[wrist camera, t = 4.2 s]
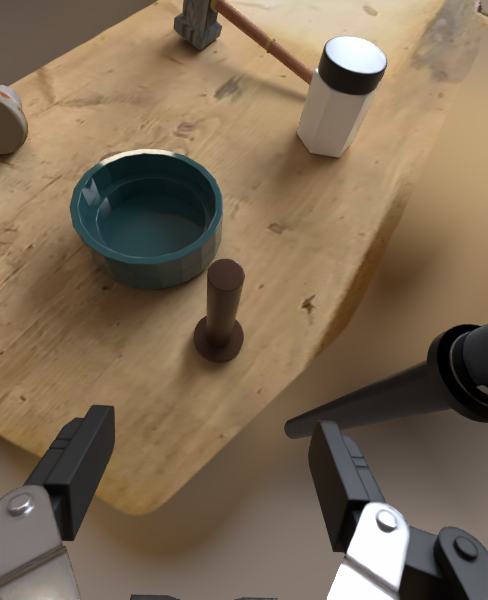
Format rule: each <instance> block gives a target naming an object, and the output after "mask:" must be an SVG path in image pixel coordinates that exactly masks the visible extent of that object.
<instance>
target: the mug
mask: <svg viewBox="0 0 488 600" xmlns="http://www.w3.org/2000/svg"><path fill="white" fill-rule="evenodd" d="M27 134H28V124H27V120H26V117H25V115H24V112H23V111H22V103H21V100H20V98H19V96H18V95H17V94H16V92H15V91H13V90H12V89H11V88H9V87H6V86H3V85H0V154H8V153H11V152H13V151H15V150H17V149H18V148H20V147H21V146H22V145H23V144H24V142H25V140H26V138H27Z"/></svg>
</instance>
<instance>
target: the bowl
mask: <svg viewBox="0 0 488 600" xmlns="http://www.w3.org/2000/svg"><path fill="white" fill-rule="evenodd" d="M70 212H71V217H72V222H73V227H74V228H75V230H76V232H77V234H78V235H79V237H80V239H81V241H82V242H83V244H84V246H85V248H86V249H87V251H88V253H89V255H90V256H91V258H92V259H93V261H94V262H95V263H96V265H97V266H98V268H99V269H100V270H101V271H102V272H103V273H105V274H106V275H108V276H109V277H111V278H112V279H114V280H115V281H116V282H119V283H122V284H125V285H128V286H132V287H135V288H138V289H163V288H167V287H171V286H175V285H178V284H182V283H185V282H186V281H188V280H190V279H191V278H193V277H195V276H196V275H198V274H200V273H201V272H202V271H203V270H204V269H205V268H206V267H207V266H208V264H209V263H210V262H211V261H212V260H213V259H214V257H215V255H216V252H217V250H218V247H219V245H220V242H221V230H222V217H223V197H222V194H221V191H220V189H219V187H218V184H217V182H216V180H215V179H214V178H213V176H212V175H211V174H210V173H209V172H208V171H207V170H206V169H205V168H204V167H203V166H202V165H200V164H198V163H197V162H195V161H193V160H192V159H190V158H188V157H186V156H184V155H180V154H177V153H174V152H170V151H167V150H156V149H139V150H133V151H127V152H121V153H119V154H116V155H114V156H112V157H109V158H107V159H104V160H102V161H100V162H99V163H98V164H96V165H95V166H94V167H92V168H91V169H90V170H88V171H87V172H86V173H85V174H84V175H83V177H82V178H81V180H80V181H79V182H78V184H77V185H76V187H75V188H74V191H73V196H72V200H71V204H70Z"/></svg>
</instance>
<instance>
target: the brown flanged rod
mask: <svg viewBox="0 0 488 600" xmlns="http://www.w3.org/2000/svg"><path fill="white" fill-rule="evenodd" d="M244 278H245V274H244V270H243V268H242V267H241V265H240V264H238V263H237V262H236V261H234V260H231V259H220V260H217V261H215V262H214V263H213V264H212V265H211V266H210V267H209V269H208V273H207V316H205V317H204V318H202V319H201V320H200V321H199V322H198V324H197V326H196V328H195V331H194V344H195V347H196V350H197V351H198V353H199V354H200V355H201V356H202V357H203V358H204V359H206V360H208V361H211V362H215V363H222V362H226V361H229V360H231V359H232V358H234V357H235V356H236V355H237V354H238V352H239V351H240V349H241V346H242V343H243V338H244V335H243V330H242V327H241V325H240V324H239V322H238V321H237V320H236V319H235V318H236V314H237V309H238V305H239V301H240V296H241V292H242V287H243V283H244Z"/></svg>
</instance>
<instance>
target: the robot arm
mask: <svg viewBox="0 0 488 600" xmlns="http://www.w3.org/2000/svg"><path fill="white" fill-rule="evenodd" d="M447 362H448V367H449V371H450V374H451V376H452V378H453V380H454V382H455V383H456V385H457V386H458V387H459V389H460V390H461V391H462V392H463V393H464V394H465V395H466V396H467V397H468V398H469V399H471V400H472V401H474V402H475V403H477V404H479V405H481V406H483V407H486V408H488V324H486V325H483V326H481V327H479V328H477V329H475V330H473V331H471V332H467V333H464V334H462V335H460V336H458V337H457V338H456V339H454V340H453V342H452V343H451V345H450V347H449V349H448V354H447ZM114 443H115V414H114V407H113V406H106V405H92V406H91V408H90V409H89V411H88V412H87V414H86V416H85V417H84V418H74V419H73V420H72V421H70V422H69V423H68V424H66V425H65V426H64V427H63V428H62V430H61V431H60V432H59V434H58V435H57V437H56V439H55V440H54V441H53V443H52V444H51V445H50V447H49V450H47V451H46V453H45V454H44V456H43V457H42V459H41V460H40V461H39V463H38V464H37V466H36V467H35V469H34V470H33V472H32V473H31V475H30V476H29V478H28V479H27V480H26V482H25V484H24V485H23V486H22V487H19V488H16V489H14V490H12V491H10V492H9V493H7V494H6V495H5V496H3V497H2V498H1V499H0V600H81V596H80V592H79V589H78V585H77V582H76V579H75V575H74V572H73V569H72V565H71V562H70V559H69V555H68V552H67V549H66V547H65V546H63V544H62V541H74V539H75V537H76V534H77V532H78V529H79V528H80V525H81V523H82V521H83V518H84V516H85V514H86V512H87V509H88V507H89V504H90V503H91V500H92V498H93V496H94V493H95V491H96V489H97V487H98V484H99V482H100V480H101V477H102V475H103V473H104V471H105V468H106V466H107V464H108V462H109V459H110V457H111V455H112V452H113V448H114ZM308 456H309V457H308V458H309V467H310V471H311V474H312V478H313V481H314V485H315V488H316V492H317V496H318V499H319V503H320V506H321V510H322V514H323V517H324V521H325V524H326V528H327V531H328V535H329V539H330V542H331V545H332V549H333V552H344V553H345V556H344V558H343V561H342V563H341V565H340V568H339V571H338V573H337V576H336V579H335V581H334V583H333V586H332V588H331V591H330V593H329V596H328V599H327V600H488V551H487V550H486V548H485V547H484V546H483V545H482V544H481V543H480V542H479V541H478V540H477V539H476V538H474V537H473V536H472V535H470V534H469V533H467V532H466V531H464V530H461V529H459V528H456V527H444V528H442V529H441V530H440V532H439V535H438V536H437V535H434V534H430V533H428V532H425V531H422V530H419V529H417V528H414V527H412V526H409V525H408V523H407V521H406V520H405V518H404V517H403V516H402V515H401V514H400V513H399V512H398V511H397V510H396V509H395V508H393V507H392V506H390V505H388V504H387V503H386V501H385V499H384V497H383V495H382V493H381V491H380V489H379V487H378V485H377V483H376V481H375V479H374V477H373V475H372V473H371V471H370V469H369V468H368V464H367V462H366V460H365V459H364V456H363V454H362V452H361V450H360V448H359V446H358V445H357V444H356V443H355V442H354V441H353V440H352V439H351V438H350V437H349V436H345V435H344V436H343V435H342V434H341V432H340V430H339V427H338V425H337V423H336V422H334V421H320V420H317V421H316V422H315V425H314V429H313V434H312V439H311V443H310V447H309V454H308ZM130 600H179V599H176V598H174V597H171V596H166V595H131V598H130ZM236 600H278V599H277V598H240V599H236Z"/></svg>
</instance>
